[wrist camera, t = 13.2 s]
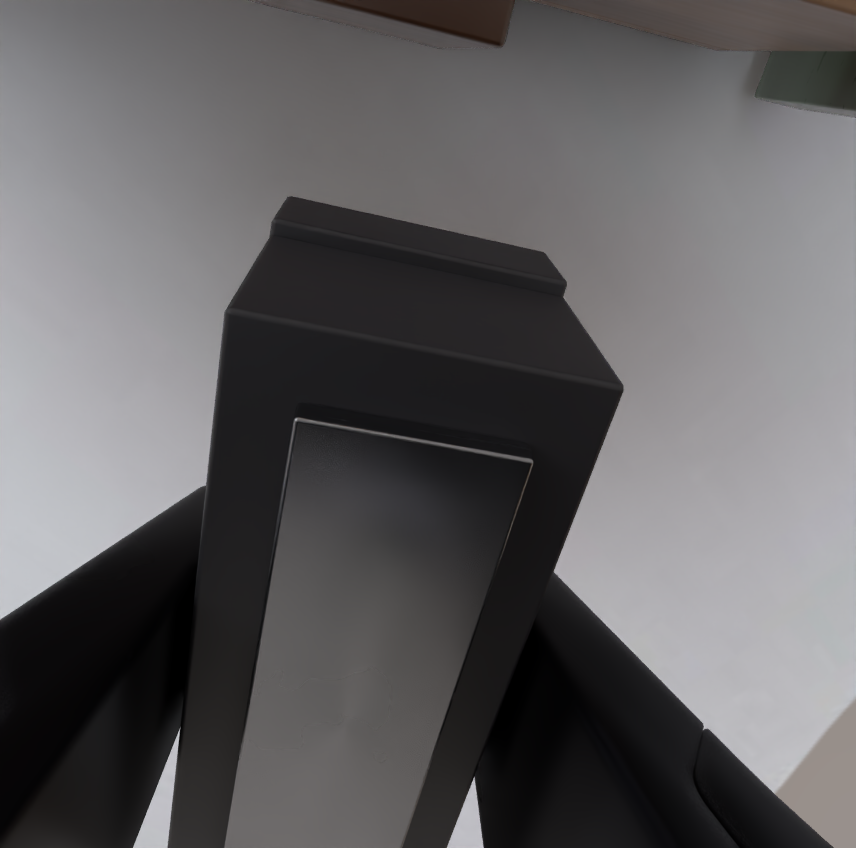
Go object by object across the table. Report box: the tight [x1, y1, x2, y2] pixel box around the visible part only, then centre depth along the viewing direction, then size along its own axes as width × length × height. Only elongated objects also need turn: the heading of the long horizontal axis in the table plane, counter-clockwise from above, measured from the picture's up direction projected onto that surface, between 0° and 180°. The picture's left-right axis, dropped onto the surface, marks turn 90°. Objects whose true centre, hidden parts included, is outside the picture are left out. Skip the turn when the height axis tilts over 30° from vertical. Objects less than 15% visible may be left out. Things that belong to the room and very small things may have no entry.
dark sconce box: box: [168, 196, 624, 848], centre depth 8 cm, size 8×3×4 cm, turn 167°
